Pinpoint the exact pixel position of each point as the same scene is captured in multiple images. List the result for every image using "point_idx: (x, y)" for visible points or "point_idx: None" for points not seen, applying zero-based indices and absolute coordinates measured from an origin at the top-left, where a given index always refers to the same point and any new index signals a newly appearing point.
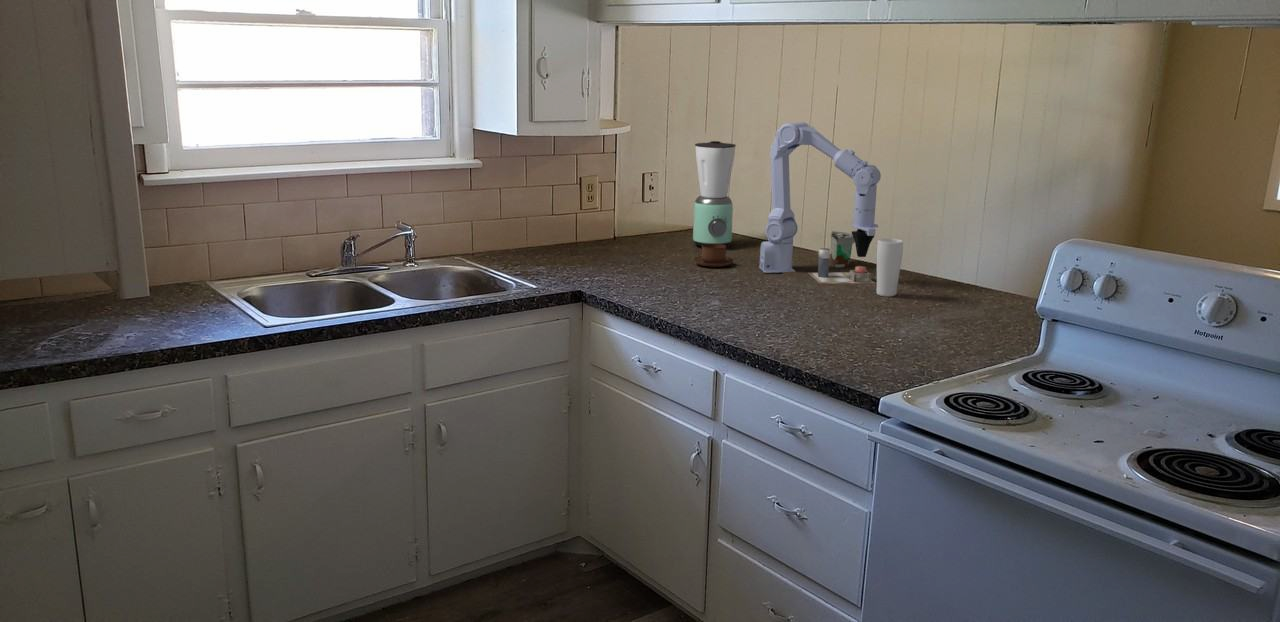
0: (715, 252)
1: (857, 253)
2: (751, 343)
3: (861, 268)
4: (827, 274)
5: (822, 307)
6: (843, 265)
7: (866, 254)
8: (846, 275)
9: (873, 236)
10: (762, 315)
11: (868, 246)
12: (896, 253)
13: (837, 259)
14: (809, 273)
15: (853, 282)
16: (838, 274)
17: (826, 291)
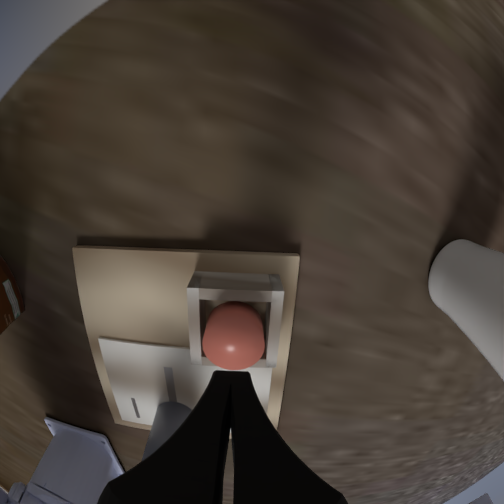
0: None
1: (230, 424)
2: (500, 461)
3: (263, 350)
4: (187, 415)
5: (460, 429)
6: (7, 286)
7: (250, 380)
8: (138, 330)
9: (344, 499)
10: (442, 480)
11: (271, 426)
12: None
13: (4, 324)
14: (125, 423)
15: (278, 348)
16: (135, 359)
17: (352, 428)
